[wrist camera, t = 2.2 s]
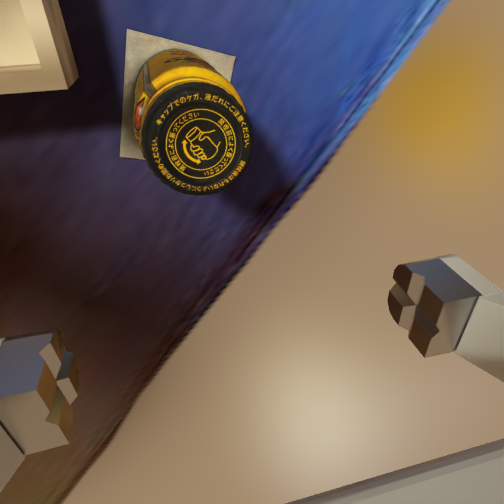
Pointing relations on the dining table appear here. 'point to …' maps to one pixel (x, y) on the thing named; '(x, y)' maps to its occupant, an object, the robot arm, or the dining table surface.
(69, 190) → the dining table surface
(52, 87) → the caddy
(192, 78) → the condiment
